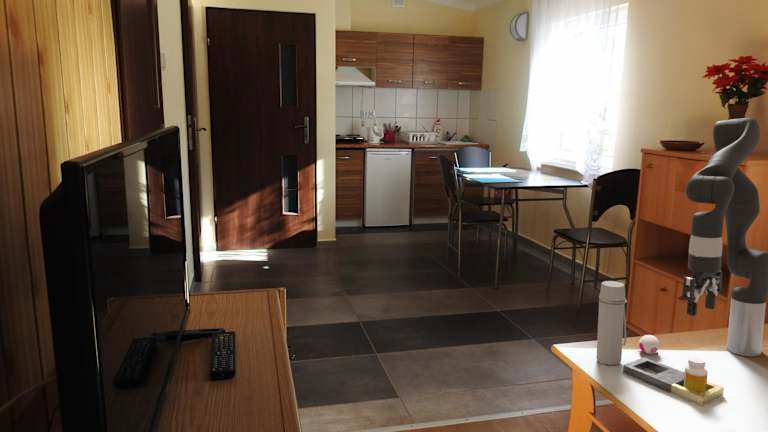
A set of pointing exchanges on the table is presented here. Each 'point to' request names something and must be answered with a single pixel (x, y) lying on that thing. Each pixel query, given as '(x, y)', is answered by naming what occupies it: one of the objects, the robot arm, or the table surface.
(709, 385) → the rail
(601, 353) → the water bottle
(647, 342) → the stress ball
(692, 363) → the supplement bottle
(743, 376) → the table surface
